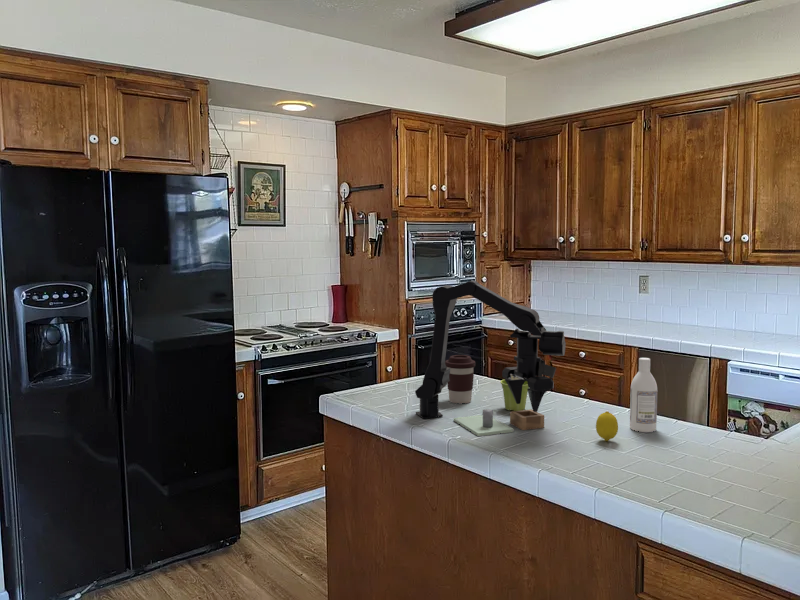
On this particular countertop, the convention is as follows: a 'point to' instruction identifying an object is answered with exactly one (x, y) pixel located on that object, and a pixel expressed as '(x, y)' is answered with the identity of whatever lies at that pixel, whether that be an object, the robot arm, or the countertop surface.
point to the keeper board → (478, 425)
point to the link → (527, 419)
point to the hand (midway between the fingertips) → (526, 407)
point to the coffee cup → (460, 378)
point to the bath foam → (643, 399)
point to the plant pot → (509, 399)
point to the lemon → (607, 426)
